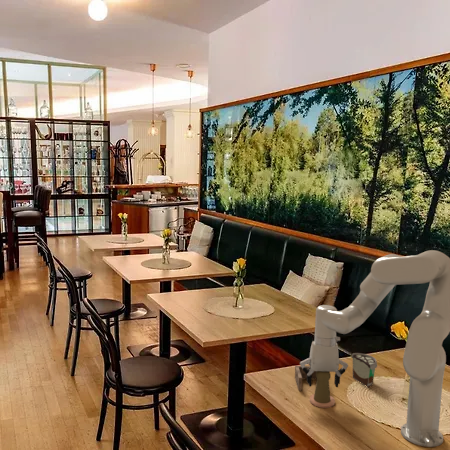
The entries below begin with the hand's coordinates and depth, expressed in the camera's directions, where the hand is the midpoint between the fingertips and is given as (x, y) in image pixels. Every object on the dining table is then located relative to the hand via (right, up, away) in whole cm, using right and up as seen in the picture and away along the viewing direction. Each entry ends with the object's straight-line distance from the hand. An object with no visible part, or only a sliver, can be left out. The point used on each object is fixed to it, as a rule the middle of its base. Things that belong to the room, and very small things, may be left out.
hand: (322, 385), depth 174 cm
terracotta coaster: (0, -6, +1) cm, 6 cm away
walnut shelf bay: (-2, -4, +15) cm, 16 cm away
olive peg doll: (0, -6, 0) cm, 6 cm away
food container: (+21, -5, +18) cm, 28 cm away
